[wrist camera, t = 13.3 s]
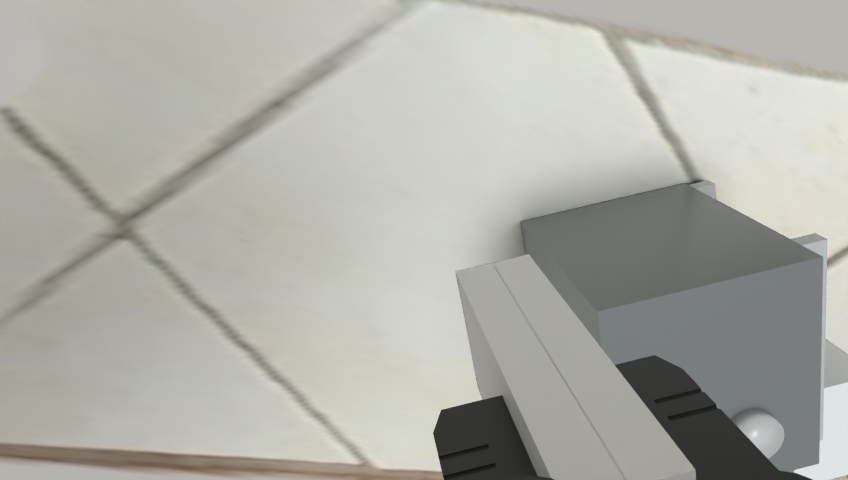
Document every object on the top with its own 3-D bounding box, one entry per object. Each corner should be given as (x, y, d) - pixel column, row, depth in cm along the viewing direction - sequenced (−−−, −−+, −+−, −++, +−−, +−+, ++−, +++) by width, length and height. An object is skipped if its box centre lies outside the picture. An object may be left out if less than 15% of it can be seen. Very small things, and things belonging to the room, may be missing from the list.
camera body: (548, 403, 44) (630, 555, 32) (520, 221, 40) (604, 320, 28) (712, 362, 45) (853, 496, 33) (704, 178, 40) (863, 257, 28)
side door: (714, 405, 44) (793, 489, 37) (710, 324, 42) (794, 395, 35) (781, 388, 44) (873, 467, 37) (781, 306, 42) (879, 374, 35)
